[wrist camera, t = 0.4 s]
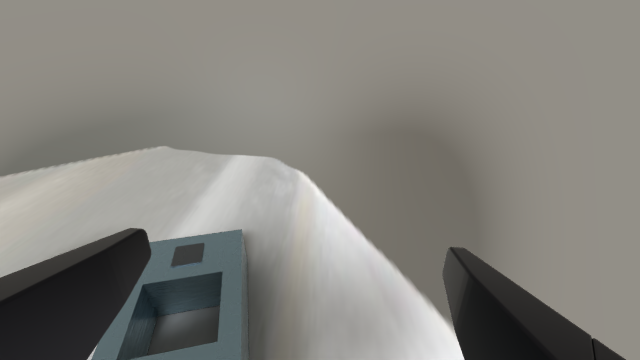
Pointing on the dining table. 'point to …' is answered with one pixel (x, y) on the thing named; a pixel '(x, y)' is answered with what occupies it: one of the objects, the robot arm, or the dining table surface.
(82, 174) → the dining table surface
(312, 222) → the dining table surface
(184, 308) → the socket block
